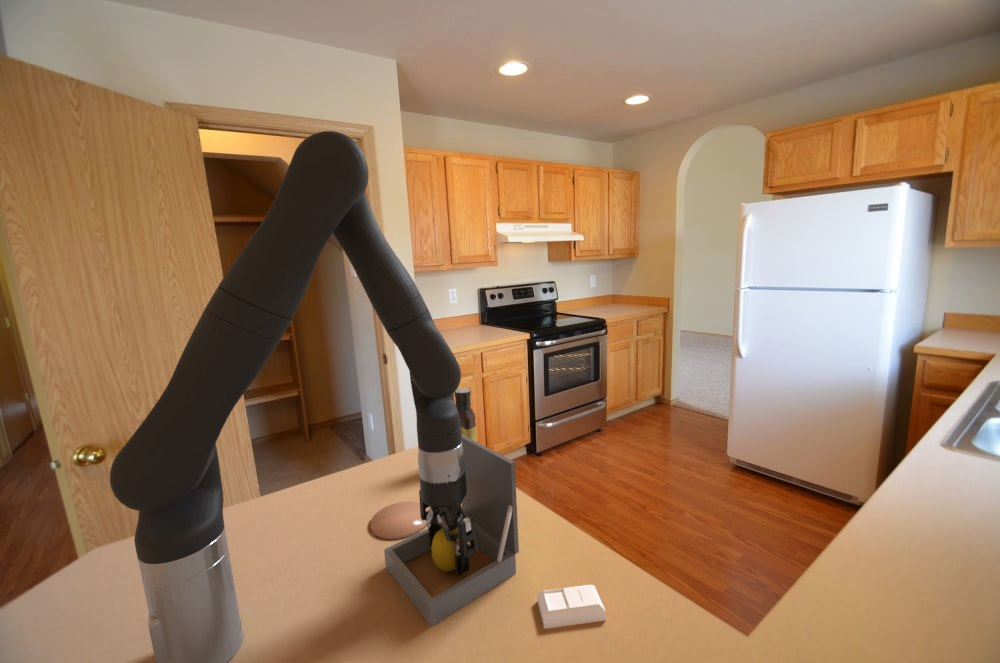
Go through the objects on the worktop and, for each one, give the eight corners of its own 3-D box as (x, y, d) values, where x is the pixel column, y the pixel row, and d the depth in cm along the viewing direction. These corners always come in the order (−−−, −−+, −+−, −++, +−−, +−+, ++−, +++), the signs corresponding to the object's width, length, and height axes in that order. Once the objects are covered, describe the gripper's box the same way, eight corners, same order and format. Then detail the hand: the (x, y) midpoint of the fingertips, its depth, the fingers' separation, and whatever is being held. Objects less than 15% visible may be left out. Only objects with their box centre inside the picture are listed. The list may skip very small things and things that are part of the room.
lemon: (427, 579, 70) (423, 535, 69) (441, 557, 75) (438, 515, 74) (458, 585, 68) (455, 540, 67) (470, 562, 74) (467, 520, 72)
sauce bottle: (450, 460, 112) (445, 388, 109) (472, 455, 115) (468, 384, 111) (459, 470, 106) (453, 395, 103) (481, 465, 109) (477, 390, 106)
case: (431, 627, 61) (420, 502, 58) (385, 567, 73) (375, 462, 70) (519, 570, 71) (514, 462, 68) (466, 527, 83) (460, 433, 80)
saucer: (385, 548, 78) (384, 545, 78) (361, 519, 88) (361, 516, 88) (441, 521, 85) (441, 518, 85) (414, 497, 95) (414, 495, 95)
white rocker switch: (606, 622, 60) (605, 606, 60) (544, 631, 60) (543, 614, 59) (594, 596, 65) (594, 581, 65) (537, 603, 64) (536, 588, 64)
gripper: (401, 462, 72) (409, 547, 75) (444, 495, 61) (452, 594, 64) (440, 448, 77) (446, 529, 79) (486, 477, 65) (492, 570, 68)
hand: (449, 558), depth 71 cm, fingers open, 8 cm apart
